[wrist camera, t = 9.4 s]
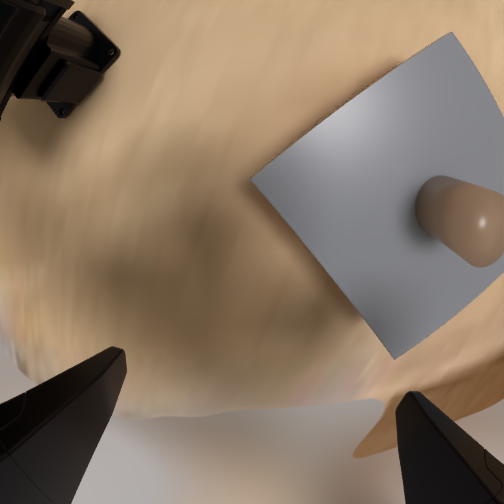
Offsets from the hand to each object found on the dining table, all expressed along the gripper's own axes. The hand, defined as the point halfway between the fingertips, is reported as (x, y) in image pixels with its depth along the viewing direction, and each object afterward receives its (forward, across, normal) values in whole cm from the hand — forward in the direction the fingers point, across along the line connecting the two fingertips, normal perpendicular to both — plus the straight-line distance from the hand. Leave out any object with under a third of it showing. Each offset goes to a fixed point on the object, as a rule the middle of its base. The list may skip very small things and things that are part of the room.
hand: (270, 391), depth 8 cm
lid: (+8, -7, -6) cm, 12 cm away
